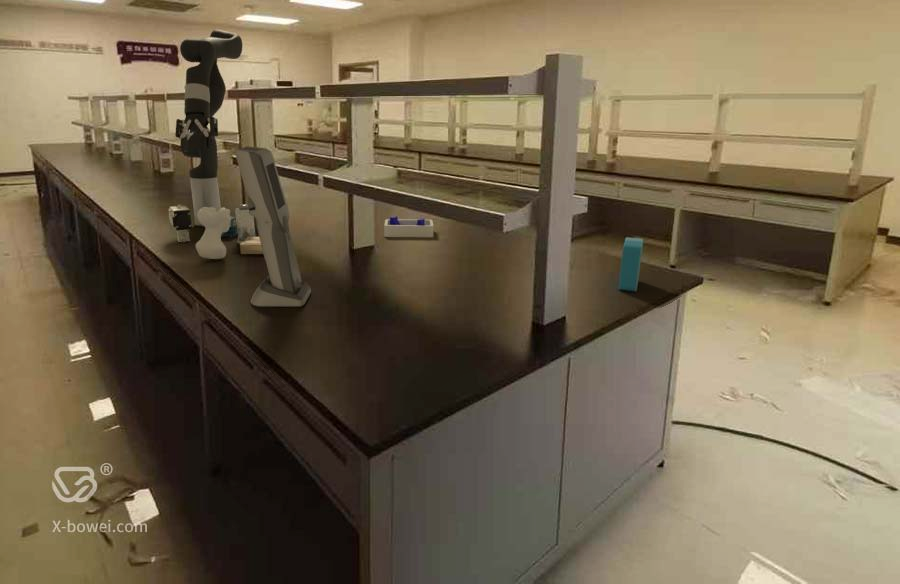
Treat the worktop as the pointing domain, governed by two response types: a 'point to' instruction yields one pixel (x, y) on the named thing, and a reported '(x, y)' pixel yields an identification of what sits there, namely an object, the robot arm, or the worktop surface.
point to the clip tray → (408, 229)
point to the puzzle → (231, 228)
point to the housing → (244, 223)
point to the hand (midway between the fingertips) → (196, 150)
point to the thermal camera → (271, 230)
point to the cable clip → (395, 222)
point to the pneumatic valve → (180, 221)
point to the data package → (630, 264)
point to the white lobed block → (213, 232)
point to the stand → (251, 246)
